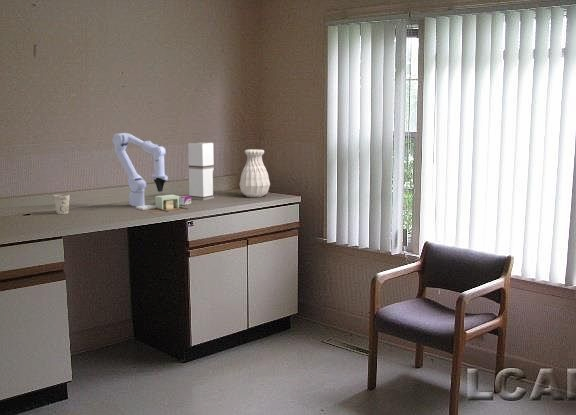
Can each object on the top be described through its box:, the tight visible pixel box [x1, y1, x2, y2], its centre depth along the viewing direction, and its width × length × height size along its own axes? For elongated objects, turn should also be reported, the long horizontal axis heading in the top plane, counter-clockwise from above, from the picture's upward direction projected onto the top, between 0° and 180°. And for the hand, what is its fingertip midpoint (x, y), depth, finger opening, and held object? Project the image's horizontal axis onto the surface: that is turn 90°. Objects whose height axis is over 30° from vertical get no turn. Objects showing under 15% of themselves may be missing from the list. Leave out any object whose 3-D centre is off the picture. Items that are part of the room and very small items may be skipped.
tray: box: [135, 204, 156, 211], centre depth 370 cm, size 8×8×1 cm
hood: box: [154, 194, 180, 209], centre depth 371 cm, size 7×11×7 cm, turn 131°
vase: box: [239, 148, 271, 198], centre depth 423 cm, size 20×20×30 cm
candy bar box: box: [178, 195, 192, 206], centre depth 389 cm, size 11×5×16 cm
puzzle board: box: [133, 205, 189, 214], centre depth 369 cm, size 23×22×1 cm
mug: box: [53, 193, 71, 215], centre depth 361 cm, size 8×13×10 cm, turn 27°
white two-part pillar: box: [187, 141, 215, 201], centre depth 413 cm, size 11×11×35 cm
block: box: [163, 199, 173, 209], centre depth 371 cm, size 4×4×5 cm
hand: (160, 191), depth 376 cm, fingers closed
